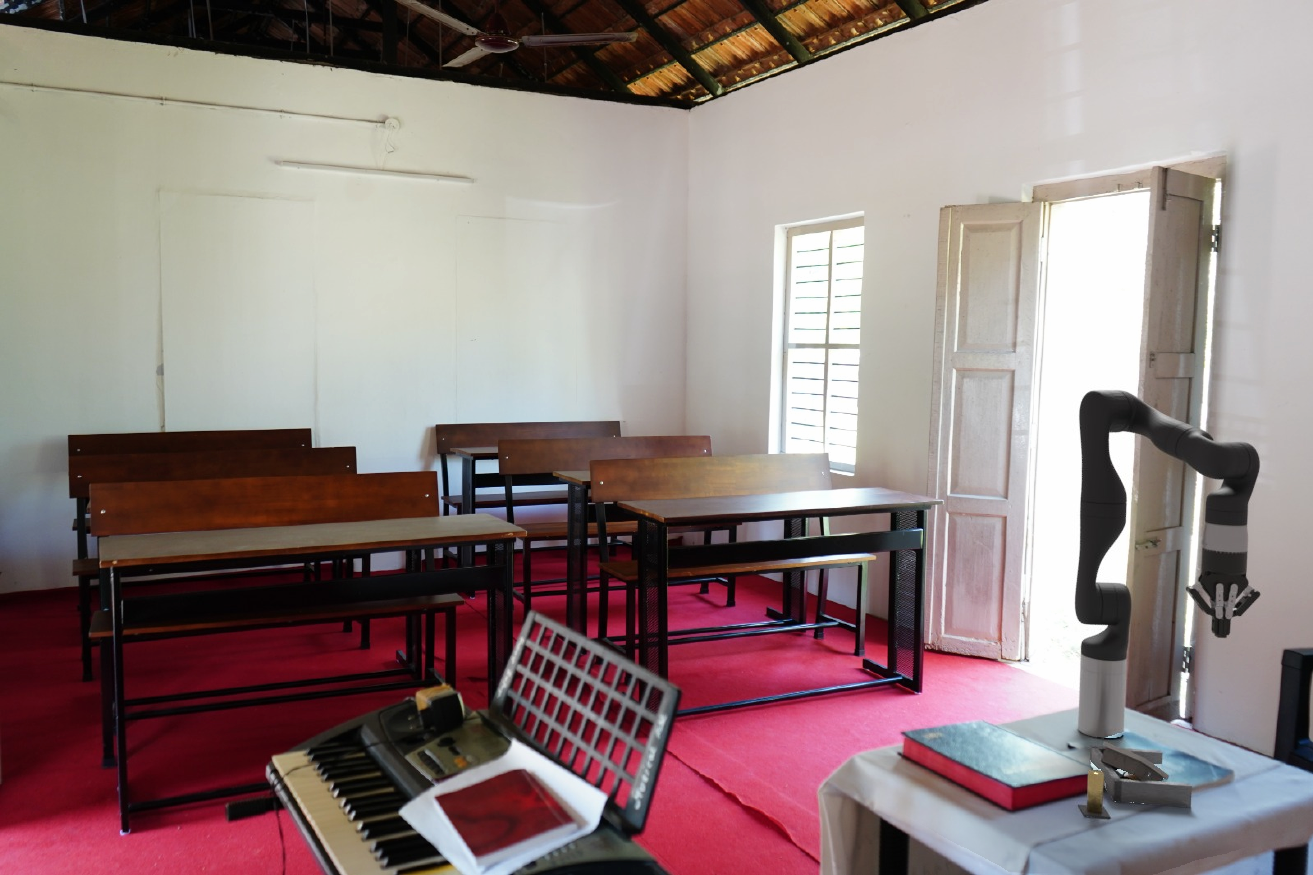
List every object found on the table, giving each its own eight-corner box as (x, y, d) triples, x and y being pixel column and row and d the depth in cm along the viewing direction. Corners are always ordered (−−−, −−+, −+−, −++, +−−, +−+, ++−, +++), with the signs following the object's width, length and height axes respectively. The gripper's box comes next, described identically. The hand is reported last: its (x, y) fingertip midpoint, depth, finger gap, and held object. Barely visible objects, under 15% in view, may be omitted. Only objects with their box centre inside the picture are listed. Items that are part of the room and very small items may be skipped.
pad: (1078, 806, 184) (1078, 804, 184) (1103, 808, 183) (1103, 806, 183) (1084, 816, 179) (1084, 815, 179) (1110, 818, 178) (1110, 817, 178)
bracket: (1089, 765, 203) (1090, 746, 202) (1159, 770, 200) (1160, 750, 200) (1114, 802, 185) (1114, 780, 185) (1190, 807, 183) (1191, 786, 183)
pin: (1085, 806, 183) (1086, 769, 182) (1100, 808, 182) (1101, 770, 182) (1088, 813, 180) (1090, 775, 180) (1104, 814, 180) (1105, 776, 179)
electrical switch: (1171, 777, 191) (1148, 749, 188) (1157, 800, 189) (1134, 772, 186) (1130, 760, 199) (1107, 733, 196) (1116, 781, 198) (1093, 754, 195)
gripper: (1194, 549, 188) (1190, 640, 189) (1271, 551, 185) (1266, 644, 187) (1180, 542, 195) (1176, 630, 196) (1254, 544, 193) (1249, 633, 194)
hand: (1220, 636), depth 191 cm, fingers closed
